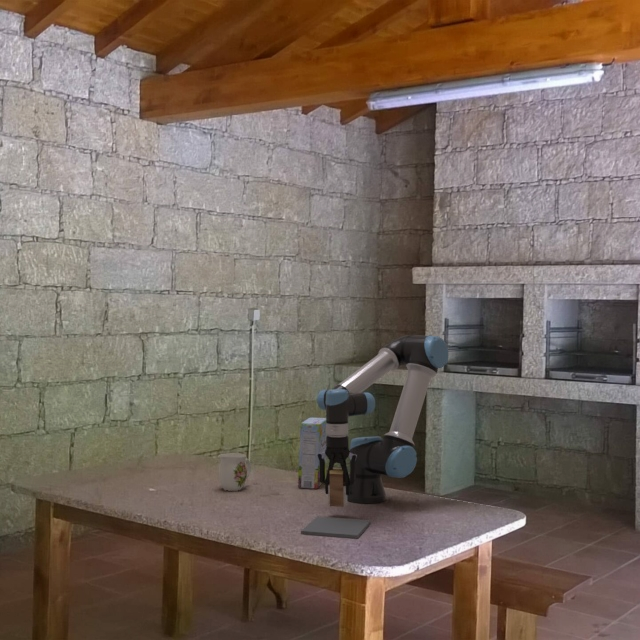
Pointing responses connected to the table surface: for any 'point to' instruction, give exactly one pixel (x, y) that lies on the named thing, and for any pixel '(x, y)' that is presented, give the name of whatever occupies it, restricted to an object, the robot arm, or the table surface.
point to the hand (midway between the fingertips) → (337, 503)
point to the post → (336, 487)
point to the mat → (336, 527)
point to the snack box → (311, 452)
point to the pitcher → (233, 471)
